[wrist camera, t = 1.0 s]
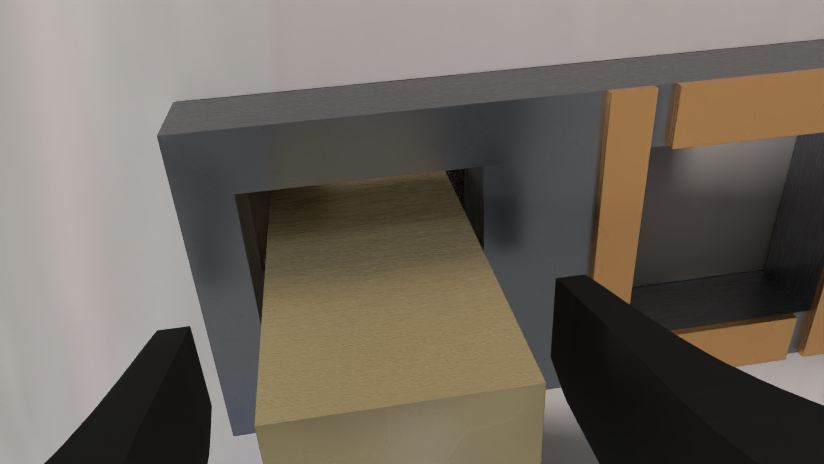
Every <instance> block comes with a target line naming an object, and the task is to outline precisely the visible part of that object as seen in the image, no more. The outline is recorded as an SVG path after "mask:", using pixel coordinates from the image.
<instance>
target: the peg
mask: <svg viewBox="0 0 824 464" xmlns="http://www.w3.org/2000/svg"><path fill="white" fill-rule="evenodd" d="M545 391H546V382H545V380H544V378H543V376H542V373H541V371H540V369H539V367H538V365H537V363H536V361H535V359H534V357H533V355H532V352H531V350H530V348H529V346H528V344H527V342H526V340H525V338H524V336H523V334H522V331H521V329H520V327H519V325H518V323H517V321H516V319H515V317H514V315H513V312H512V310H511V308H510V306H509V304H508V302H507V300H506V298H505V296H504V294H503V291H502V289H501V287H500V285H499V283H498V281H497V279H496V277H495V275H494V272H493V270H492V268H491V266H490V264H489V262H488V260H487V258H486V256H485V254H484V251H483V249H482V247H481V245H480V243H479V241H478V239H477V237H476V235H475V233H474V230H473V228H472V226H471V224H470V222H469V220H468V218H467V216H466V214H465V211H464V209H463V207H462V205H461V203H460V201H459V199H458V197H457V195H456V193H455V190H454V188H453V186H452V184H451V182H450V180H449V178H448V176H447V174H446V171H439V172H430V173H421V174H412V175H403V176H394V177H385V178H376V179H367V180H358V181H349V182H340V183H331V184H322V185H313V186H304V187H296V188H287V189H278V190H270V205H269V219H268V234H267V249H266V264H265V278H264V293H263V308H262V323H261V337H260V352H259V367H258V381H257V396H256V411H255V431H256V435H257V439H258V444H259V448H260V452H261V457H262V461H263V464H541V456H542V440H543V424H544V407H545Z"/></svg>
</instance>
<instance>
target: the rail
mask: <svg viewBox="0 0 824 464" xmlns="http://www.w3.org/2000/svg"><path fill="white" fill-rule="evenodd" d="M795 135H798V136H797V140H796V144H795V149H794V153H793V157H792V161H791V165H790V169H789V173H788V177H787V181H786V185H785V189H784V193H783V197H782V201H781V205H780V209H779V213H778V217H777V221H776V225H775V230H774V234H773V238H772V242H771V246H770V250H769V254H768V258H767V262H766V266H765V270H762V271H754V272H747V273H740V274H732V275H725V276H717V277H710V278H702V279H695V280H688V281H680V282H673V283H665V284H658V285H650V286H643V287H635V288H632V285H633V277H634V270H635V262H636V255H637V247H638V239H639V232H640V224H641V217H642V209H643V202H644V194H645V187H646V179H647V172H648V164H649V157H650V149H651V148H653V147H662V146H669V147H670V148H671V149H680V148H689V147H697V146H706V145H715V144H724V143H733V142H742V141H751V140H760V139H769V138H777V137H786V136H795ZM157 138H158V142H159V146H160V150H161V153H162V157H163V161H164V165H165V169H166V173H167V177H168V181H169V185H170V189H171V193H172V197H173V201H174V204H175V208H176V212H177V216H178V220H179V224H180V228H181V232H182V236H183V240H184V244H185V248H186V251H187V255H188V259H189V263H190V267H191V271H192V275H193V279H194V283H195V287H196V291H197V295H198V299H199V302H200V306H201V310H202V314H203V318H204V322H205V326H206V330H207V334H208V338H209V342H210V346H211V350H212V353H213V357H214V361H215V365H216V369H217V373H218V377H219V381H220V385H221V389H222V393H223V397H224V400H225V404H226V408H227V412H228V416H229V420H230V424H231V428H232V432H233V436H238V435H245V434H251V433H256V431H255V411H256V396H257V381H258V367H259V352H260V337H261V323H262V308H263V293H264V274H263V269H262V264H261V258H260V253H259V248H258V243H257V238H256V232H255V227H254V222H253V217H252V212H251V206H250V201H249V196H248V193H251V192H260V191H269V190H278V189H287V188H296V187H304V186H313V185H322V184H331V183H340V182H349V181H358V180H367V179H376V178H385V177H394V176H403V175H412V174H421V173H430V172H439V171H448V170H456V169H464V200H465V214H466V216H467V218H468V220H469V222H470V224H471V226H472V228H473V230H474V233H475V235H476V237H477V239H478V241H479V243H480V245H481V247H482V249H483V251H484V254H485V256H486V258H487V260H488V262H489V264H490V266H491V268H492V270H493V272H494V275H495V277H496V279H497V281H498V283H499V285H500V287H501V289H502V291H503V294H504V296H505V298H506V300H507V302H508V304H509V306H510V308H511V310H512V312H513V315H514V317H515V319H516V321H517V323H518V325H519V327H520V329H521V331H522V334H523V336H524V338H525V340H526V342H527V344H528V346H529V348H530V350H531V352H532V355H533V357H534V359H535V361H536V363H537V365H538V367H539V369H540V371H541V373H542V376H543V378H544V380H545V382H546V390H547V389H553V388H560V387H561V385H560V383H559V380H558V377H557V374H556V371H555V368H554V366H553V363H552V360H551V357H550V356H551V341H552V326H553V312H554V297H555V282H556V278H561V277H568V276H576V275H583V274H585V275H587V276H588V277H590V278H592V279H593V280H595V281H596V282H598V283H599V284H601V285H602V286H604V287H605V288H606V289H608V290H609V291H611V292H612V293H614V294H615V295H617V296H618V297H620V298H621V299H622V300H624V301H625V302H627V303H628V304H630V305H631V306H633V307H634V308H636V309H637V310H639V311H640V312H642V313H643V314H645V315H646V316H648V317H649V318H651V319H652V320H654V321H655V322H657V323H658V324H660V325H661V326H663V327H665V328H666V329H668V330H669V331H671V332H673V333H674V334H676V335H677V336H679V337H681V338H682V339H684V340H686V341H687V342H689V343H691V344H693V345H694V346H696V347H698V348H700V349H701V350H703V351H705V352H706V353H708V354H710V355H712V356H714V357H716V358H717V359H719V360H721V361H723V362H725V363H727V364H729V365H731V366H733V367H738V366H744V365H751V364H758V363H764V362H771V361H778V360H784V359H786V355H787V354H788V353H795V352H798V353H799V354H800V355H801V356H802V357H804V356H811V355H818V354H824V40H814V41H803V42H793V43H783V44H772V45H762V46H752V47H741V48H731V49H721V50H710V51H700V52H690V53H679V54H669V55H659V56H648V57H638V58H628V59H617V60H607V61H597V62H586V63H576V64H566V65H556V66H545V67H535V68H525V69H514V70H504V71H494V72H483V73H473V74H463V75H452V76H442V77H432V78H421V79H411V80H401V81H390V82H380V83H370V84H359V85H349V86H339V87H328V88H318V89H308V90H297V91H287V92H277V93H266V94H256V95H246V96H235V97H225V98H215V99H204V100H194V101H184V102H173V104H172V106H171V108H170V110H169V112H168V114H167V116H166V118H165V120H164V123H163V125H162V127H161V129H160V131H159V133H158V135H157Z"/></svg>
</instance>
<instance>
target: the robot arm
mask: <svg viewBox="0 0 824 464" xmlns="http://www.w3.org/2000/svg"><path fill="white" fill-rule="evenodd" d="M550 357H551V360H552V363H553V366H554V368H555V371H556V374H557V377H558V380H559V383H560V385H561V388H562V390H563V393H564V396H565V398H566V401H567V403H568V405H569V406H570V408H571V410H572V412H573V414H574V416H575V418H576V420H577V422H578V424H579V426H580V428H581V430H582V431H583V433H584V435H585V437H586V439H587V441H588V443H589V445H590V447H591V448H592V450H593V452H594V454H595V456H596V458H597V460H598V462H599V463H600V464H824V406H823V405H821V404H818V403H815V402H813V401H810V400H808V399H805V398H803V397H800V396H798V395H795V394H793V393H790V392H788V391H785V390H783V389H780V388H778V387H776V386H773V385H771V384H769V383H767V382H764V381H762V380H760V379H758V378H756V377H754V376H752V375H750V374H747V373H745V372H743V371H741V370H739V369H737V368H735V367H733V366H731V365H729V364H727V363H725V362H723V361H721V360H719V359H717V358H716V357H714V356H712V355H710V354H708V353H706V352H705V351H703V350H701V349H700V348H698V347H696V346H694V345H693V344H691V343H689V342H687V341H686V340H684V339H682V338H681V337H679V336H677V335H676V334H674V333H673V332H671V331H669V330H668V329H666V328H665V327H663V326H661V325H660V324H658V323H657V322H655V321H654V320H652V319H651V318H649V317H648V316H646V315H645V314H643V313H642V312H640V311H639V310H637V309H636V308H634V307H633V306H631V305H630V304H628V303H627V302H625V301H624V300H622V299H621V298H620V297H618V296H617V295H615V294H614V293H612V292H611V291H609V290H608V289H606V288H605V287H604V286H602V285H601V284H599V283H598V282H596V281H595V280H593V279H592V278H590V277H588V276H587V275H585V274H583V275H576V276H568V277H561V278H556V282H555V297H554V312H553V326H552V341H551V356H550ZM211 410H212V405H211V402H210V398H209V394H208V390H207V387H206V383H205V379H204V376H203V372H202V368H201V365H200V361H199V357H198V354H197V350H196V346H195V343H194V339H193V335H192V331H191V328H190V326H188V327H181V328H173V329H166V330H158V331H157V332H156V333H155V334H154V335H153V336H152V338H151V339H150V340H149V341H148V343H147V344H146V345H145V346H144V348H143V349H142V350H141V352H140V353H139V354H138V356H137V357H136V358H135V359H134V361H133V362H132V363H131V365H130V366H129V367H128V368H127V370H126V371H125V372H124V374H123V375H122V376H121V377H120V379H119V380H118V381H117V383H116V384H115V385H114V386H113V387H112V389H111V390H110V391H109V392H108V394H107V395H106V396H105V397H104V398H103V400H102V401H101V402H100V403H99V405H98V406H97V407H96V408H95V409H94V411H93V412H92V413H91V414H90V415H89V416H88V418H87V419H86V420H85V421H84V422H83V423H82V424H81V425H80V426H79V428H78V429H77V430H76V431H75V432H74V433H73V434H72V435H71V436H70V438H69V439H68V440H67V441H66V442H65V443H64V444H63V445H62V446H61V447H60V448H59V449H58V450H57V452H56V453H55V454H54V455H53V456H52V457H51V458H50V459H49V460H48V461H47V462H46V463H45V464H207V463H208V458H209V448H210V432H211Z"/></svg>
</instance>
